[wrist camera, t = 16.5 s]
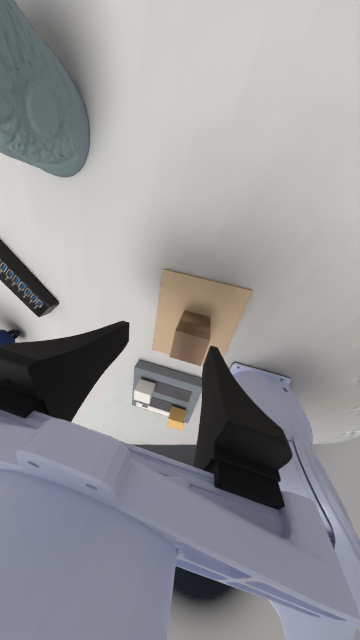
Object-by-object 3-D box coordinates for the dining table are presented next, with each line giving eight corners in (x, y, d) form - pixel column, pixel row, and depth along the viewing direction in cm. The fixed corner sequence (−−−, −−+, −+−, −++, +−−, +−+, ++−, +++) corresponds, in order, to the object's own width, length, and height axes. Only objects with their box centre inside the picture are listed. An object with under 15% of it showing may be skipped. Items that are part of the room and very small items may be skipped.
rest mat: (251, 290, 19) (252, 291, 19) (217, 366, 26) (217, 368, 25) (164, 269, 20) (162, 269, 20) (153, 347, 27) (152, 349, 26)
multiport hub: (50, 313, 28) (38, 318, 26) (-17, 244, 25) (-38, 243, 22) (62, 302, 27) (49, 306, 25) (-10, 226, 23) (-31, 224, 21)
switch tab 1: (155, 383, 27) (150, 395, 25) (154, 392, 28) (149, 404, 26) (140, 378, 28) (134, 390, 25) (139, 387, 29) (133, 399, 27)
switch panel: (203, 378, 28) (202, 388, 26) (189, 414, 33) (188, 424, 31) (139, 359, 29) (134, 367, 27) (136, 396, 34) (131, 405, 32)
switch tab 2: (186, 410, 29) (183, 423, 27) (183, 417, 30) (181, 430, 28) (171, 405, 29) (168, 418, 27) (169, 413, 30) (166, 425, 28)
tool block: (210, 317, 21) (210, 340, 16) (203, 339, 23) (200, 366, 18) (184, 310, 22) (175, 330, 16) (179, 332, 23) (169, 356, 18)
